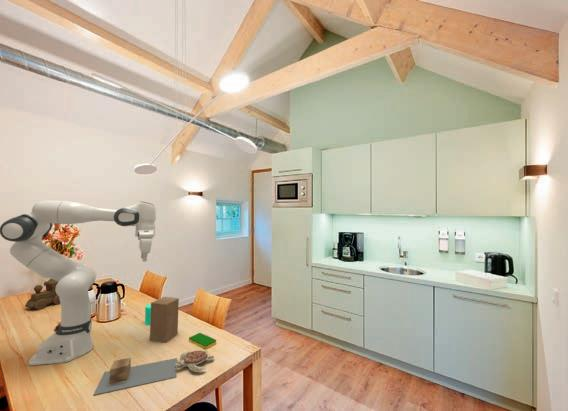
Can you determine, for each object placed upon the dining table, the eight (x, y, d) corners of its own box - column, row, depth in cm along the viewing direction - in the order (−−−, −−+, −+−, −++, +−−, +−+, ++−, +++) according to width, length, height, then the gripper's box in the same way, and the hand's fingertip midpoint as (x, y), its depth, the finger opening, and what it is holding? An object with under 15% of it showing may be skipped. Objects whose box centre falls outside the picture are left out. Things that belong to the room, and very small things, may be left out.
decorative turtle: (167, 361, 110) (167, 350, 110) (201, 349, 122) (202, 338, 122) (183, 381, 97) (184, 368, 97) (220, 365, 109) (221, 353, 109)
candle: (142, 324, 148) (143, 304, 148) (150, 320, 153) (151, 301, 154) (149, 326, 146) (150, 305, 146) (158, 322, 151) (158, 302, 152)
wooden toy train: (58, 300, 186) (59, 278, 186) (67, 302, 182) (69, 279, 183) (23, 309, 167) (24, 285, 167) (33, 312, 163) (34, 287, 164)
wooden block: (165, 343, 127) (167, 304, 127) (149, 340, 129) (150, 302, 129) (177, 334, 136) (179, 297, 137) (162, 332, 138) (163, 296, 139)
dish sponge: (199, 336, 135) (199, 332, 135) (216, 344, 127) (216, 339, 127) (188, 342, 129) (188, 337, 129) (205, 350, 121) (205, 345, 121)
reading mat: (93, 395, 89) (93, 394, 89) (104, 372, 102) (104, 371, 102) (176, 377, 100) (176, 376, 100) (177, 358, 113) (177, 357, 113)
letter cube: (109, 384, 95) (109, 369, 95) (113, 375, 100) (114, 360, 100) (127, 381, 97) (127, 365, 97) (130, 372, 102) (130, 357, 103)
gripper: (137, 231, 133) (135, 257, 133) (139, 234, 116) (137, 263, 116) (150, 231, 137) (148, 256, 136) (154, 234, 120) (152, 262, 119)
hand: (143, 259), depth 126 cm, fingers open, 8 cm apart
